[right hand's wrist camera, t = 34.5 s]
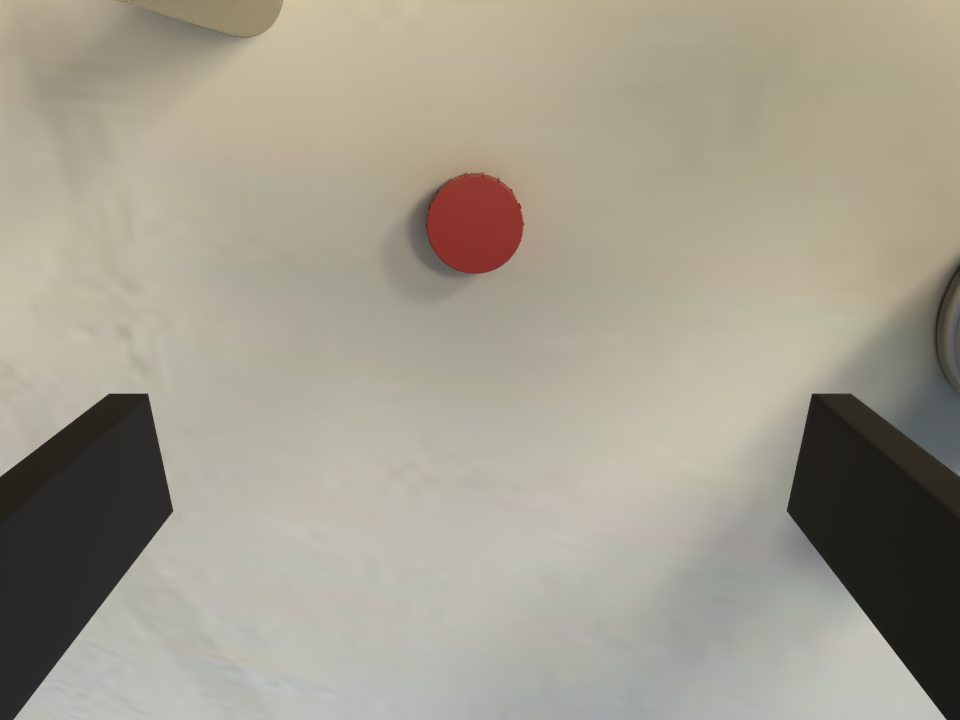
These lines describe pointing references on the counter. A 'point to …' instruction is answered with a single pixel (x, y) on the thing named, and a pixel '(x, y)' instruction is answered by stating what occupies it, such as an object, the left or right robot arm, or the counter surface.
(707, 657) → the counter surface
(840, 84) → the counter surface
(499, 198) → the lid
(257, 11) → the jar
